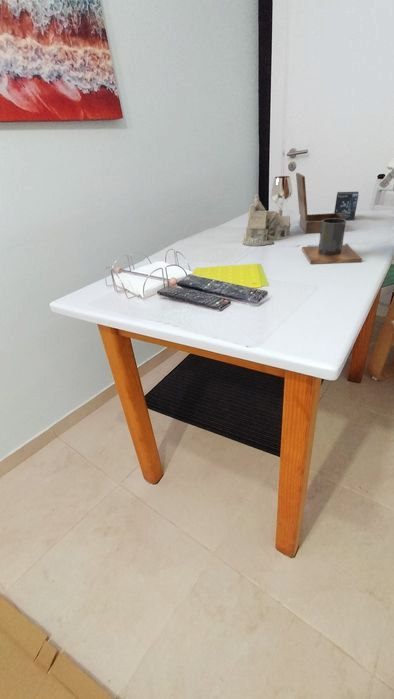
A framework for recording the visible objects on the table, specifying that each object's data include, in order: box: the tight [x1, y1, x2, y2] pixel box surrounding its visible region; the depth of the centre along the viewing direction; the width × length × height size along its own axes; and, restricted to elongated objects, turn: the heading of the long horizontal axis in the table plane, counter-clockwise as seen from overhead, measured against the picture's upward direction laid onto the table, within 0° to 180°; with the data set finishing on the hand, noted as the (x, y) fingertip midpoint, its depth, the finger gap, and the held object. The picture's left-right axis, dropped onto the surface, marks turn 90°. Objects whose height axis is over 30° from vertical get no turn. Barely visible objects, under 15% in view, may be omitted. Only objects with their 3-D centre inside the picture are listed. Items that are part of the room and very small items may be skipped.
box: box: [333, 191, 360, 221], centre depth 134 cm, size 8×6×11 cm
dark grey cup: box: [318, 218, 347, 255], centre depth 98 cm, size 6×6×9 cm
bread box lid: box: [295, 172, 309, 221], centre depth 120 cm, size 14×13×1 cm
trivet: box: [301, 244, 363, 265], centre depth 101 cm, size 14×14×1 cm
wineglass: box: [270, 175, 293, 210], centre depth 131 cm, size 8×8×18 cm
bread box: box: [299, 212, 347, 235], centre depth 125 cm, size 14×13×5 cm
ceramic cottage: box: [242, 194, 292, 247], centre depth 117 cm, size 16×16×15 cm
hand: (387, 188), depth 90 cm, fingers open, 8 cm apart
